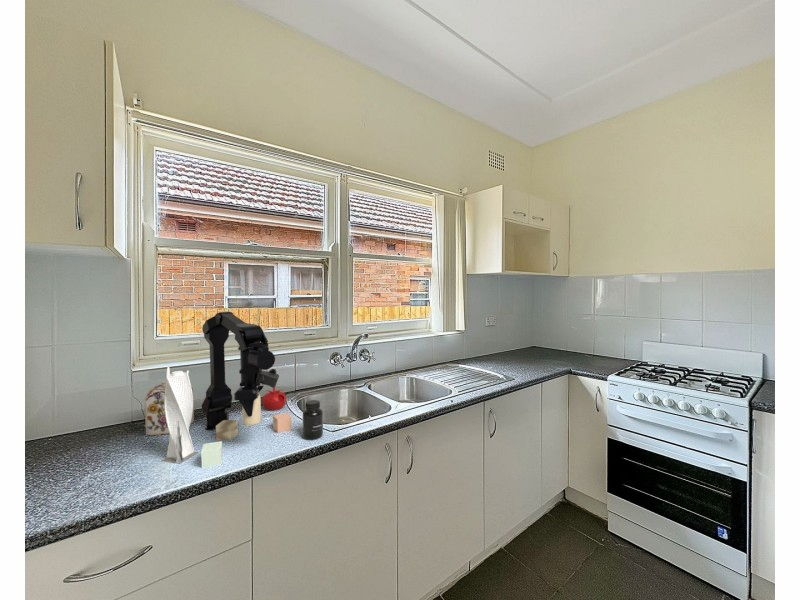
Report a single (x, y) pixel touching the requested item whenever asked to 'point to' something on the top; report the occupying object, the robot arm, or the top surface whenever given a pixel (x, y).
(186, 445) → the skyscraper
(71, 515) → the top surface
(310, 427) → the supplement bottle
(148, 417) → the decorative jar
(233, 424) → the birch block
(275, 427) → the terracotta block
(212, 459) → the sage block
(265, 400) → the pomegranate
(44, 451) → the top surface
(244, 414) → the candle
